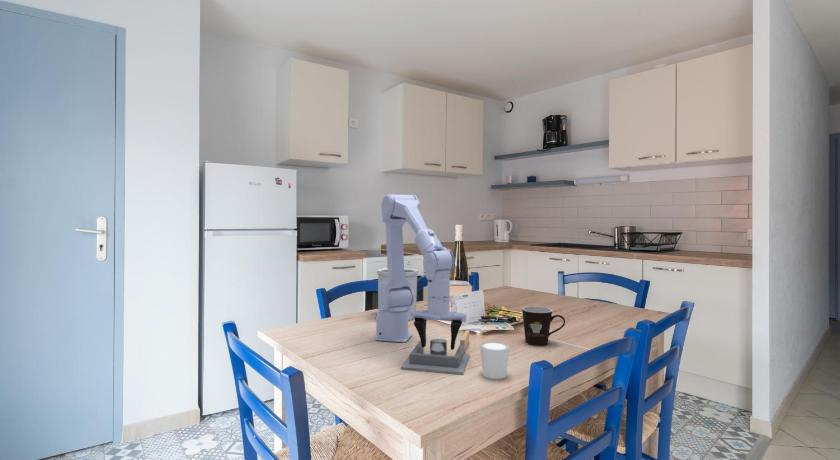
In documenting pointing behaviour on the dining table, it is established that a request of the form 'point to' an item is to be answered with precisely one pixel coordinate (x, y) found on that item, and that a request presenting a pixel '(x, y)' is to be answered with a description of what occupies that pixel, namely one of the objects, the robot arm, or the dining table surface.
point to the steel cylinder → (438, 347)
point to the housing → (436, 361)
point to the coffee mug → (538, 324)
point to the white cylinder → (494, 359)
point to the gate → (465, 339)
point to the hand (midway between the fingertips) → (438, 347)
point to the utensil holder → (409, 275)
